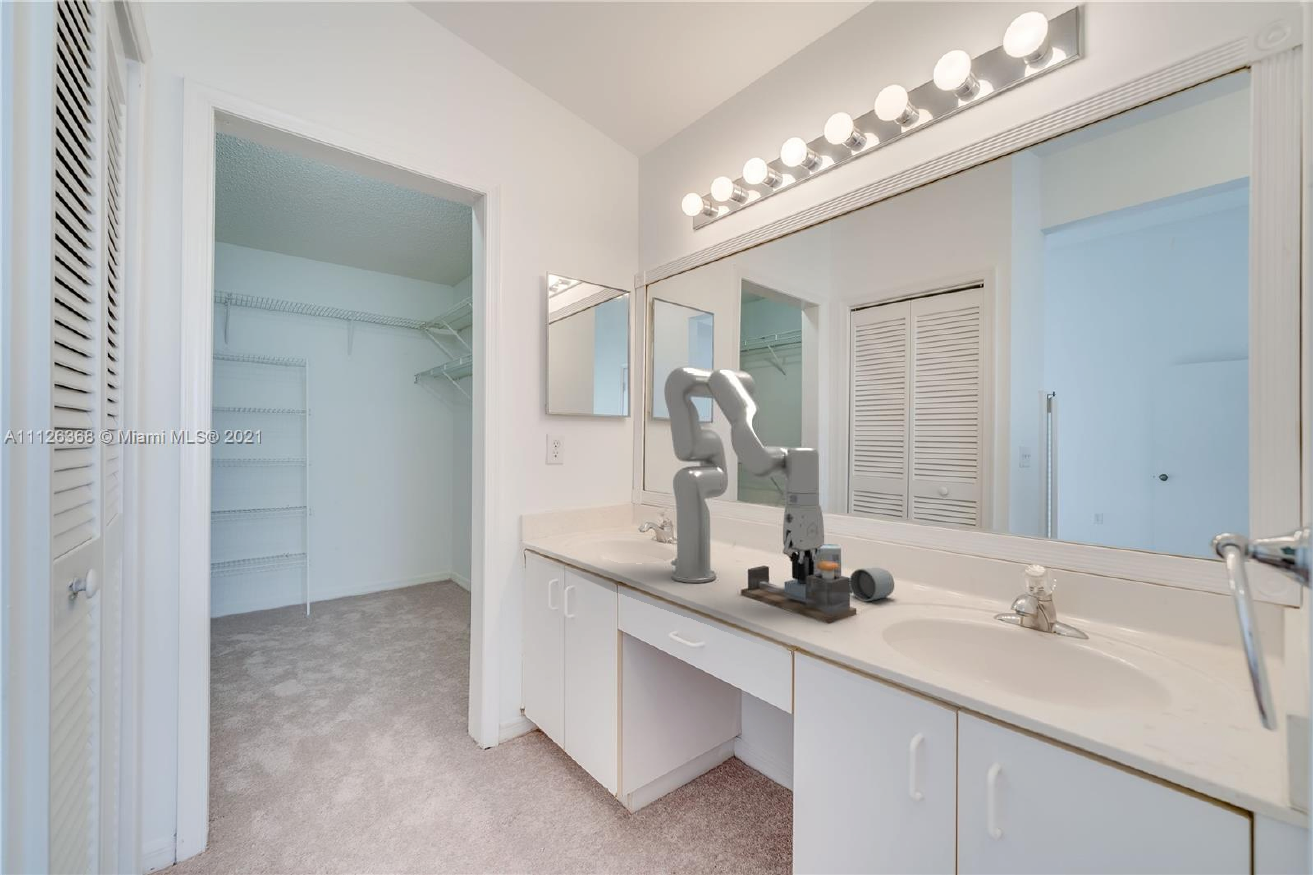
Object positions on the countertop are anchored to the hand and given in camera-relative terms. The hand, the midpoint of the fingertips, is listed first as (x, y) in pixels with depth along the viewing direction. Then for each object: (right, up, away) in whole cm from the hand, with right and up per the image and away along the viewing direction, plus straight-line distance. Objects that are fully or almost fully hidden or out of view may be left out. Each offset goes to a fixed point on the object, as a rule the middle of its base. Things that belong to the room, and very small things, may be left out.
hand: (803, 577), depth 119 cm
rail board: (-1, -7, +2) cm, 7 cm away
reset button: (+4, 0, -6) cm, 7 cm away
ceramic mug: (+18, -7, +7) cm, 20 cm away
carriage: (0, -5, 0) cm, 5 cm away
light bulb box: (+9, -7, +18) cm, 21 cm away
